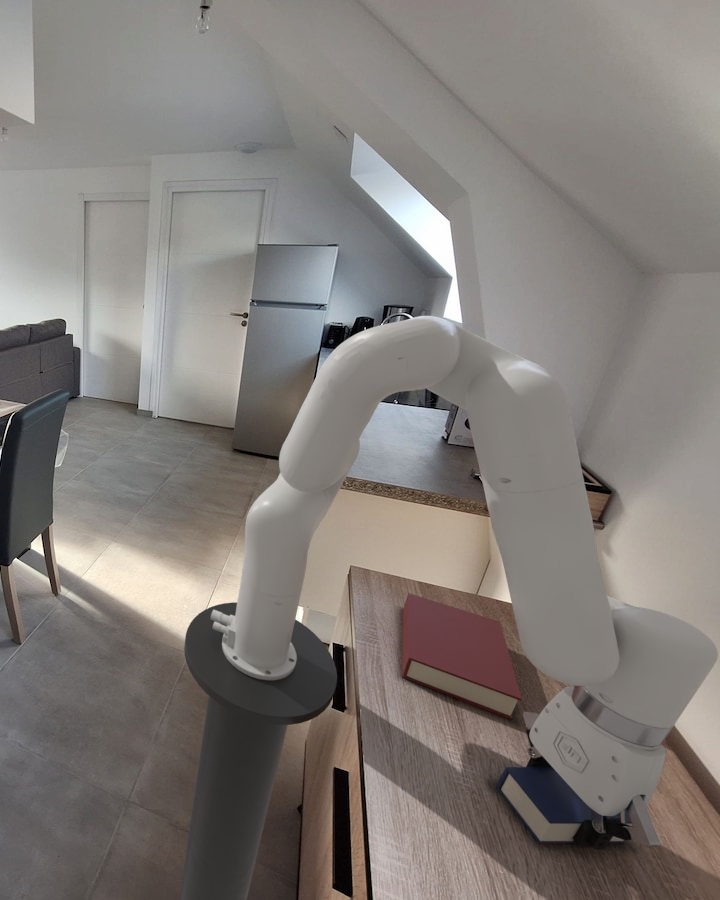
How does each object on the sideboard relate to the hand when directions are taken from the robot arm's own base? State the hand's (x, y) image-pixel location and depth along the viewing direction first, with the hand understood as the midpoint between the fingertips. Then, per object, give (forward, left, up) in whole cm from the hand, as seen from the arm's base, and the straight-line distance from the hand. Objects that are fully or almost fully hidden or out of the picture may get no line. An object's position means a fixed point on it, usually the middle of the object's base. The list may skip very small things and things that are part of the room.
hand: (559, 810), depth 58 cm
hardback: (-10, +24, -1) cm, 26 cm away
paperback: (0, 0, -1) cm, 1 cm away
